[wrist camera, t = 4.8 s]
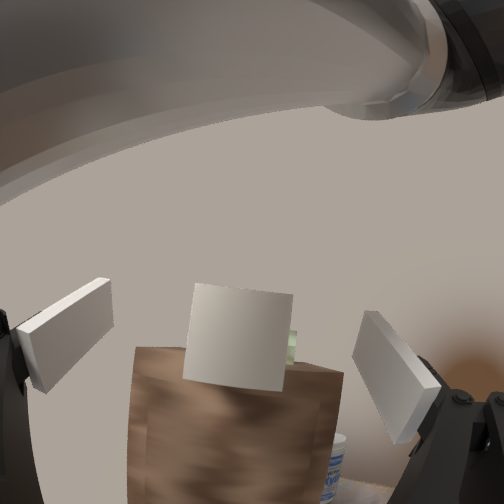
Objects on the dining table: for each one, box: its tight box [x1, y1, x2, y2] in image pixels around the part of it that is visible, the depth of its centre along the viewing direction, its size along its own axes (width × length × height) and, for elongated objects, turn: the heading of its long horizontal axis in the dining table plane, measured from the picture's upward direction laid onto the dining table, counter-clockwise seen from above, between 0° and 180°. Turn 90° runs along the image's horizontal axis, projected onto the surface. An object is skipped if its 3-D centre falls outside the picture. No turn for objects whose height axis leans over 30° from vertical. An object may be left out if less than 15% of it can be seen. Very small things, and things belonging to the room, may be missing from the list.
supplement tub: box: [320, 433, 346, 504], centre depth 41 cm, size 10×10×15 cm
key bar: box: [182, 283, 293, 392], centre depth 19 cm, size 4×18×4 cm, turn 1°
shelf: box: [127, 330, 344, 504], centre depth 21 cm, size 15×14×33 cm
